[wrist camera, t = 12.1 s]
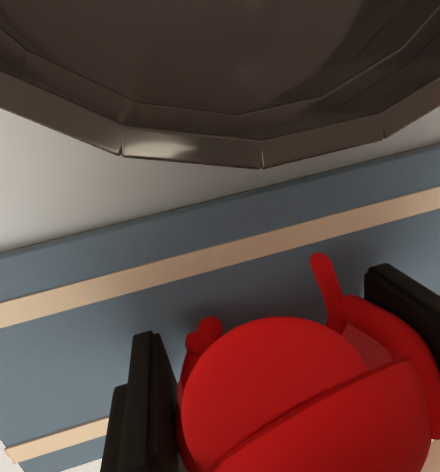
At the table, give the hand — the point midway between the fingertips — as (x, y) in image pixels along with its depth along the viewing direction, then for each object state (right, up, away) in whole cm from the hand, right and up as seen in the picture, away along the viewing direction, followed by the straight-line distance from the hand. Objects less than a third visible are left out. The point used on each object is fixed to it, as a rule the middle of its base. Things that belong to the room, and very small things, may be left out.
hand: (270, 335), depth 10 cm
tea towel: (0, +1, +2) cm, 2 cm away
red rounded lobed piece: (0, 0, +1) cm, 1 cm away
